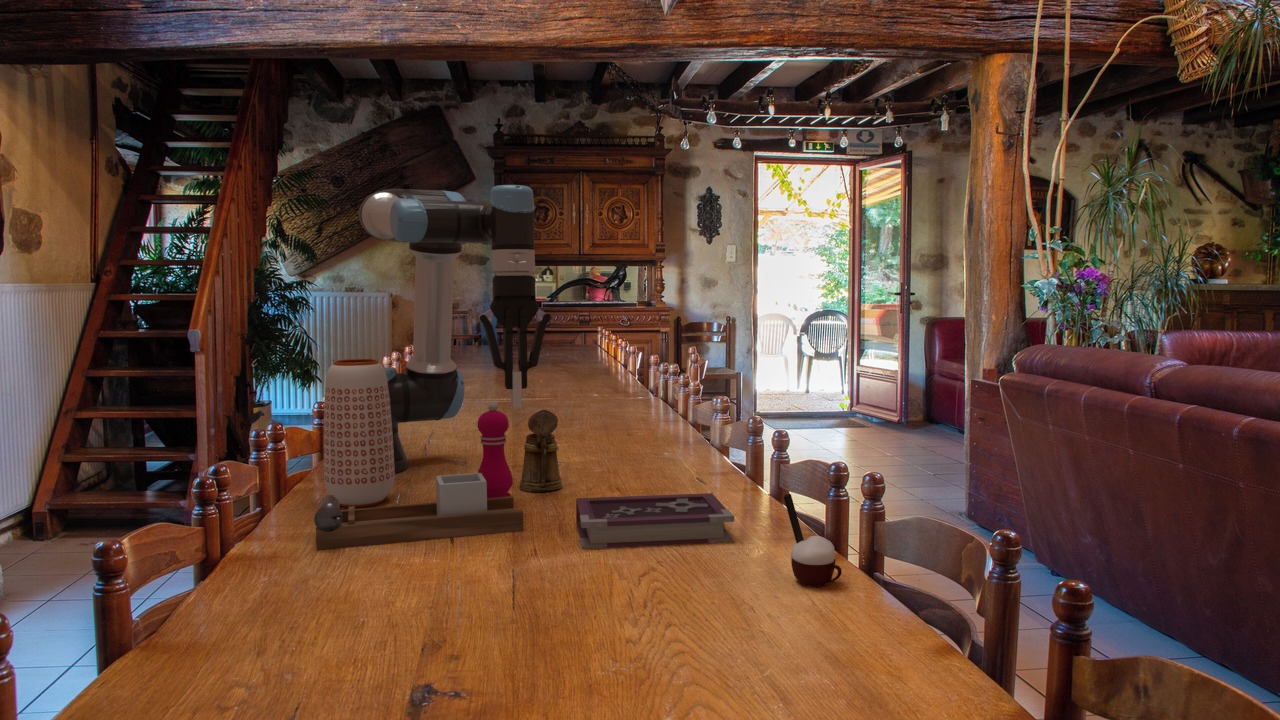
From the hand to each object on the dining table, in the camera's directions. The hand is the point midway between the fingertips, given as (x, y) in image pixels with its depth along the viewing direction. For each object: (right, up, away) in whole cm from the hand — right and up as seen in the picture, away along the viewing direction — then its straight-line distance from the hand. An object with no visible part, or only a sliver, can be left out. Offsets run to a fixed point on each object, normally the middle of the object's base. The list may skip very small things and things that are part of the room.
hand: (516, 407), depth 155 cm
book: (+24, -22, -4) cm, 33 cm away
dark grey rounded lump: (-30, -21, -9) cm, 38 cm away
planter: (-33, -20, +17) cm, 42 cm away
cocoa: (+47, -24, -29) cm, 60 cm away
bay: (-16, -22, -3) cm, 27 cm away
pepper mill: (-6, -20, +15) cm, 26 cm away
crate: (-10, -20, -1) cm, 22 cm away
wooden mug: (+2, -19, +26) cm, 32 cm away
